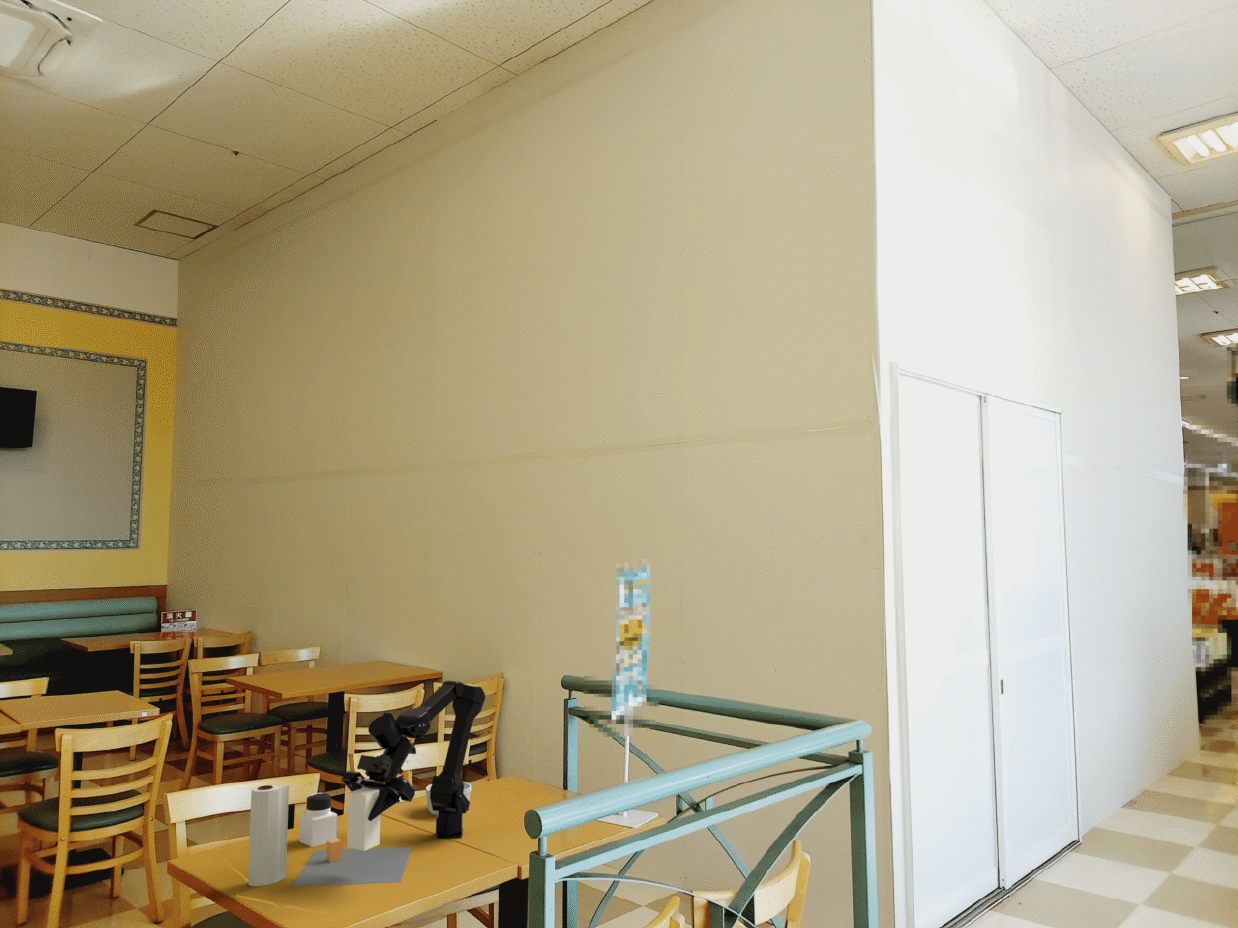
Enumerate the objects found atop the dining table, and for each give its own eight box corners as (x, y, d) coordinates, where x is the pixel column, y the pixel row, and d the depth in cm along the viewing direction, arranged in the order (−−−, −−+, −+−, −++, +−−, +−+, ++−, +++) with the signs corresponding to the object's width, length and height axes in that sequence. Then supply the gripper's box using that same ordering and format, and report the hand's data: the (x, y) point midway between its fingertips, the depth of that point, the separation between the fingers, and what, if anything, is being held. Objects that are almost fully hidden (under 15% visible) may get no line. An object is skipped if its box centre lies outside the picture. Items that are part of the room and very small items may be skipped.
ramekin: (426, 805, 265) (426, 781, 265) (470, 803, 267) (471, 779, 268) (424, 818, 252) (425, 793, 252) (471, 816, 254) (472, 791, 255)
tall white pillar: (362, 840, 212) (363, 787, 213) (379, 843, 209) (380, 789, 210) (347, 847, 207) (348, 792, 208) (364, 850, 205) (365, 795, 206)
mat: (411, 848, 227) (411, 846, 227) (400, 883, 203) (400, 881, 203) (314, 851, 224) (314, 850, 224) (291, 888, 200) (291, 886, 200)
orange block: (336, 857, 219) (337, 837, 219) (340, 859, 217) (341, 840, 217) (326, 859, 217) (326, 840, 218) (330, 862, 215) (331, 842, 216)
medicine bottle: (337, 841, 232) (338, 794, 233) (311, 848, 227) (313, 799, 228) (323, 835, 237) (324, 789, 238) (297, 842, 232) (299, 794, 233)
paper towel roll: (242, 886, 201) (245, 789, 203) (257, 877, 207) (261, 782, 209) (271, 889, 200) (274, 791, 202) (285, 879, 206) (289, 784, 208)
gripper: (347, 736, 218) (312, 794, 207) (408, 744, 210) (375, 804, 199) (368, 762, 224) (336, 819, 213) (428, 770, 216) (397, 830, 205)
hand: (360, 818), depth 208 cm, fingers closed on tall white pillar, 5 cm apart
